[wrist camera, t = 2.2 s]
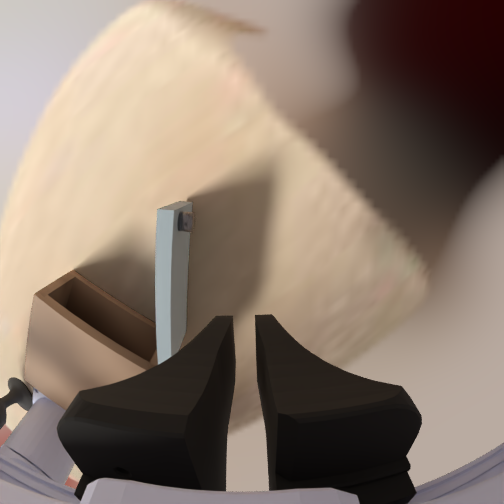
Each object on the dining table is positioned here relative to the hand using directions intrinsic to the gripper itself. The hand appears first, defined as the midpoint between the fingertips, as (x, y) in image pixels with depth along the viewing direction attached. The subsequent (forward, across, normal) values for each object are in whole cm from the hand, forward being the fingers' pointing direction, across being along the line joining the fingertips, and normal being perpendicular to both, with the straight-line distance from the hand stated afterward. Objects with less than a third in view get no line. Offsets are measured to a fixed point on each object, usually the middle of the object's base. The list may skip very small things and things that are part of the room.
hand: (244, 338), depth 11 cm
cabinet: (+8, +12, +6) cm, 15 cm away
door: (+8, +4, 0) cm, 9 cm away
